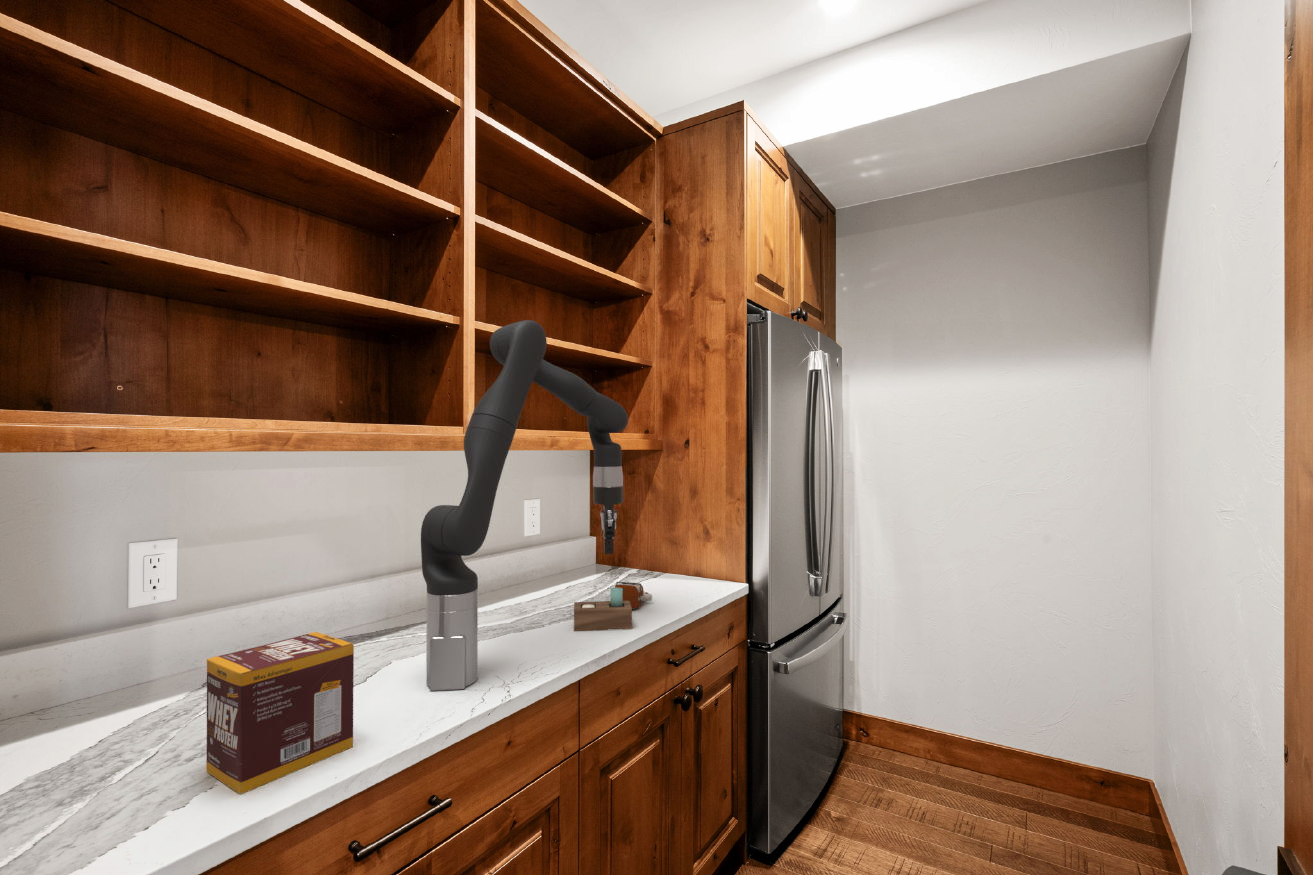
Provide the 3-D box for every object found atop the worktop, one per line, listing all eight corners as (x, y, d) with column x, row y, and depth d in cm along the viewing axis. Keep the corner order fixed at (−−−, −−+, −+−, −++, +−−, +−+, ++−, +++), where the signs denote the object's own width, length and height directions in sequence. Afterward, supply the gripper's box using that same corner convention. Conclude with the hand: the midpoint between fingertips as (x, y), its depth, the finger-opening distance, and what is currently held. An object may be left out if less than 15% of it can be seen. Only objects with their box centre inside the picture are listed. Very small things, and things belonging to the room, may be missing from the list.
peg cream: (594, 627, 151) (594, 607, 151) (582, 628, 151) (582, 607, 151) (594, 624, 154) (594, 604, 154) (582, 624, 154) (582, 604, 154)
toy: (658, 582, 179) (640, 584, 165) (657, 606, 178) (638, 610, 164) (629, 580, 182) (608, 581, 169) (627, 603, 181) (607, 607, 167)
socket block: (631, 629, 150) (631, 608, 150) (573, 631, 148) (573, 610, 148) (629, 619, 158) (629, 600, 158) (574, 621, 156) (574, 602, 156)
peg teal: (622, 610, 152) (622, 589, 152) (610, 610, 152) (610, 590, 152) (622, 607, 155) (622, 587, 155) (610, 607, 155) (610, 587, 155)
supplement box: (203, 772, 84) (204, 657, 84) (317, 729, 97) (318, 630, 97) (238, 796, 78) (239, 673, 78) (354, 747, 91) (355, 641, 91)
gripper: (592, 482, 160) (592, 549, 160) (594, 486, 147) (594, 559, 147) (620, 482, 161) (621, 548, 161) (625, 486, 148) (626, 558, 148)
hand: (608, 553), depth 154 cm, fingers closed
